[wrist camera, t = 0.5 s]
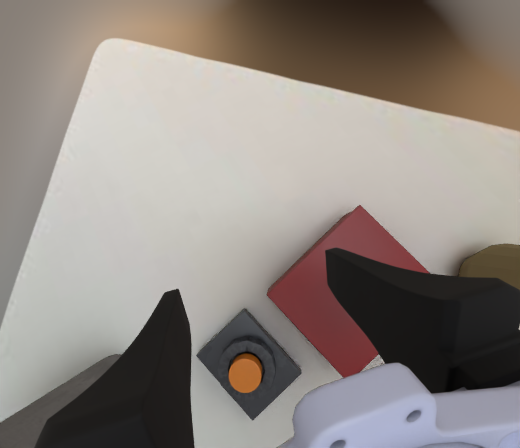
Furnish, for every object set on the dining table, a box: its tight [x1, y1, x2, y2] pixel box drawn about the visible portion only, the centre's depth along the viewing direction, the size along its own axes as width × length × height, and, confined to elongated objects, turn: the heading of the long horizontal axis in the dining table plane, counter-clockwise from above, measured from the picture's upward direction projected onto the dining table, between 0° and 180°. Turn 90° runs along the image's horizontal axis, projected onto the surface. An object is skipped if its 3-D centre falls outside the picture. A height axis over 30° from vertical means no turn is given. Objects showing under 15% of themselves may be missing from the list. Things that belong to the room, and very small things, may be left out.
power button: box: [229, 353, 262, 393], centre depth 33 cm, size 4×4×2 cm
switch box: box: [196, 308, 301, 420], centre depth 35 cm, size 10×8×3 cm
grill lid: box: [267, 205, 429, 378], centre depth 30 cm, size 14×12×4 cm
